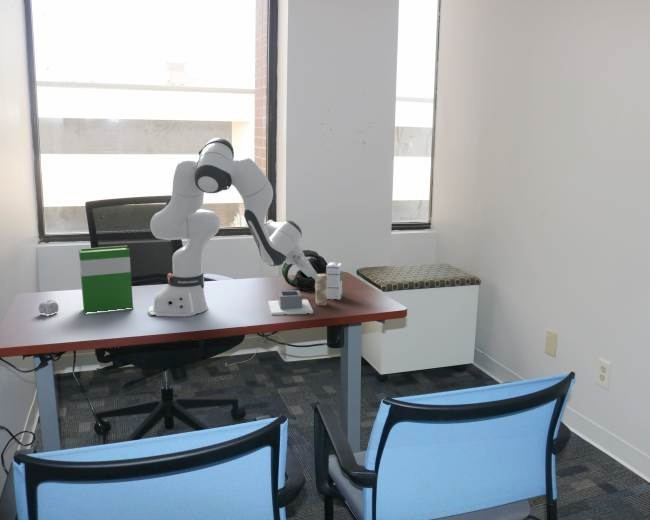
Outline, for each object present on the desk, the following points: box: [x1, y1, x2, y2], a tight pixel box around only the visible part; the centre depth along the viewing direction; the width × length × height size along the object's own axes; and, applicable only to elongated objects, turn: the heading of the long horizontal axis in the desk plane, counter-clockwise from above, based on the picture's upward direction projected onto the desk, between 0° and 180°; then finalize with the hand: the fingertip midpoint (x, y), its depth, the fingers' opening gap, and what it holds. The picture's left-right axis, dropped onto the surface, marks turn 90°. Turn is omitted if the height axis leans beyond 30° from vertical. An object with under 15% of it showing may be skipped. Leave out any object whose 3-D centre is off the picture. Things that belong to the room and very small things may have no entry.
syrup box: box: [326, 262, 343, 301], centre depth 259 cm, size 6×6×14 cm
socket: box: [267, 289, 314, 316], centre depth 245 cm, size 16×16×6 cm
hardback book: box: [78, 245, 134, 314], centre depth 240 cm, size 18×7×24 cm, turn 114°
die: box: [38, 299, 60, 314], centre depth 236 cm, size 5×5×5 cm
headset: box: [281, 249, 328, 291], centre depth 274 cm, size 18×14×29 cm
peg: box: [314, 274, 328, 306], centre depth 250 cm, size 4×4×12 cm
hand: (317, 276), depth 248 cm, fingers open, 8 cm apart
